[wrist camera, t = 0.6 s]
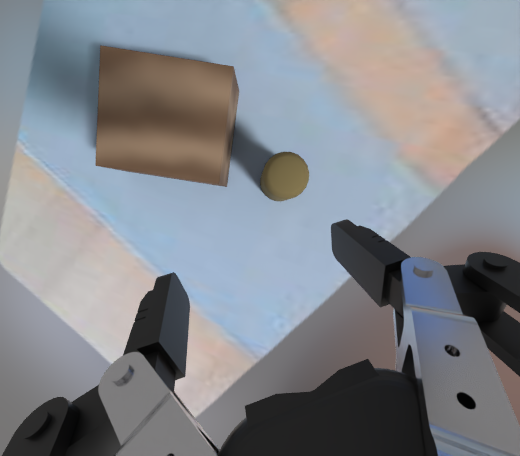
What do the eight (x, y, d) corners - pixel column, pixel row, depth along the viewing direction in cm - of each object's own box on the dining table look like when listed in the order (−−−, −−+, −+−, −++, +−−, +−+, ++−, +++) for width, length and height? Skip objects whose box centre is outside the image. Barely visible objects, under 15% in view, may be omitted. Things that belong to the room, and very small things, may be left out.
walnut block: (131, 73, 32) (100, 45, 26) (239, 90, 32) (233, 66, 26) (125, 171, 34) (95, 165, 28) (226, 186, 34) (219, 184, 28)
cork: (253, 189, 34) (248, 185, 23) (272, 154, 33) (276, 133, 22) (286, 208, 34) (297, 213, 23) (306, 173, 33) (327, 162, 22)
